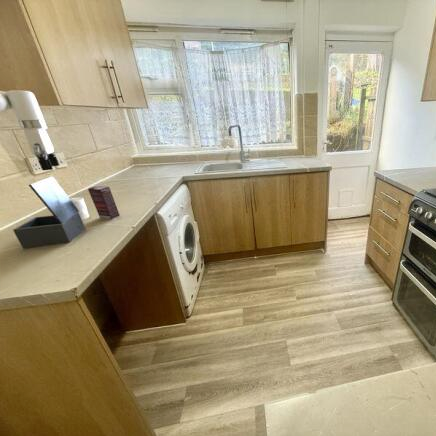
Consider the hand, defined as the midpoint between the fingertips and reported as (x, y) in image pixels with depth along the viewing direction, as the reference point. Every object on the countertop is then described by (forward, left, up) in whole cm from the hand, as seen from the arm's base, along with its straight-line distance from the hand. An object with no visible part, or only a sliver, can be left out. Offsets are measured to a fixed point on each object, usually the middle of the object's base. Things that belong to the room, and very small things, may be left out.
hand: (51, 167), depth 104 cm
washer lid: (+2, -16, -10) cm, 19 cm away
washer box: (-3, -15, -27) cm, 31 cm away
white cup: (+1, +8, -27) cm, 28 cm away
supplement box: (+14, +1, -27) cm, 31 cm away
